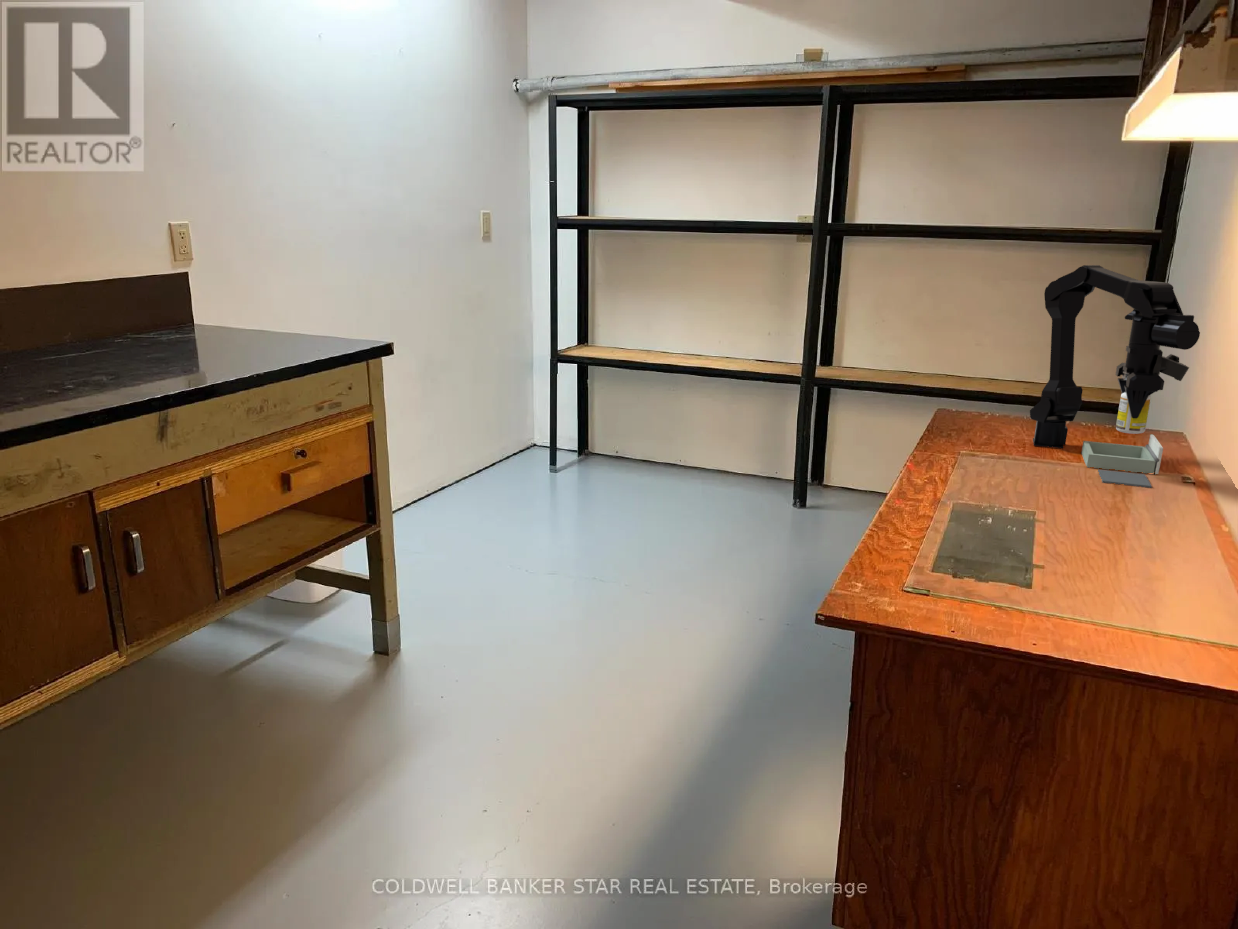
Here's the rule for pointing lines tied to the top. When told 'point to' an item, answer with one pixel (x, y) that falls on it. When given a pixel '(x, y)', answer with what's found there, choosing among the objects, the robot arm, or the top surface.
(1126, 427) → the supplement bottle
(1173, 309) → the robot arm
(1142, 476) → the mat
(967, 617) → the top surface
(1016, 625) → the top surface
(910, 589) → the top surface
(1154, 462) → the drawer
